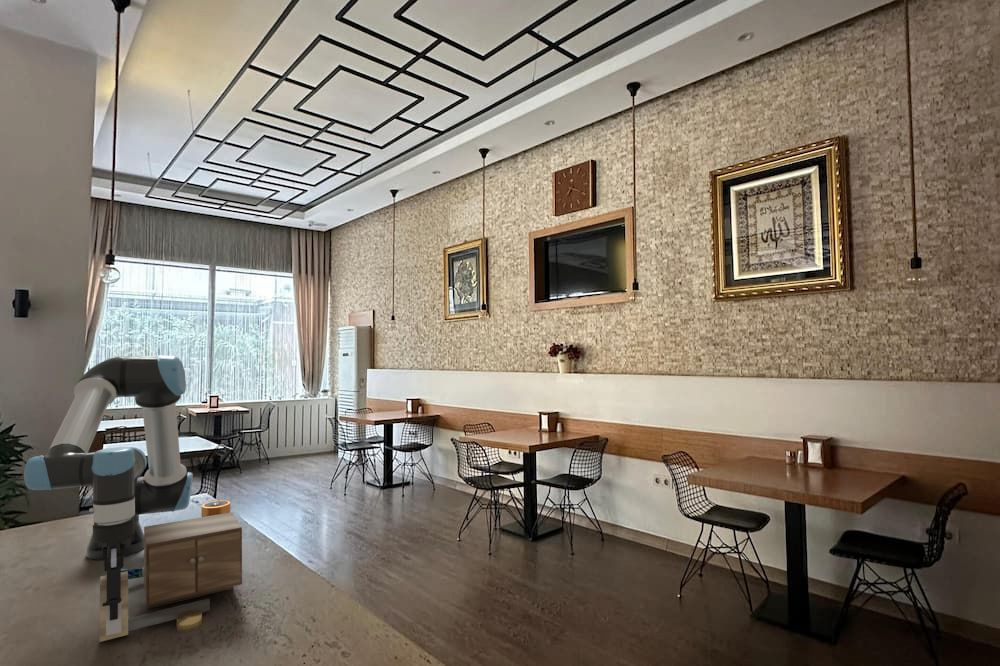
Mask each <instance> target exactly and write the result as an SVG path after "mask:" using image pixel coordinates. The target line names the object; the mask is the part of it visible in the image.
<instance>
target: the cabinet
mask: <svg viewBox="0 0 1000 666" xmlns="http://www.w3.org/2000/svg"><path fill="white" fill-rule="evenodd" d="M143 528H144V529H143V534H144V548H143V552H144V553H143V555H144V556H143V559H144V560H143V563H144V564H143V567H144V577H143V582H144V583H143V584H144V596H145V606H146V609H151V608H152V609H153V608H155V607H160V606H165V605H169V604H173V603H177V602H181V601H186V600H190V599H194V598H199V597H203V596H208V595H211V594H217V593H220V592H225V591H228V590H232V589H233V590H234V587H236V586H240V585H243V526H242V525H241V524H240V522H239V520H238V519H237V517H236V516H235V514H234V513H233V512H231V511H230V513H225V514H219V515H213V516H207V517H202V516H201V517H195V518H189V519H183V520H178V521H177V520H176V521H171V522H167V523H166V522H165V523H158V524H154V525H146V526H144V527H143Z"/></svg>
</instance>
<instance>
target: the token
mask: <svg viewBox="0 0 1000 666" xmlns="http://www.w3.org/2000/svg"><path fill="white" fill-rule="evenodd" d="M202 625H203V612H201V611H198V610H193V611H188V612H184V613H182V614H180V615H179V616H178V617H177V619H176V631H177V632H179V633H185V632H186V633H187V632H192V631H195V630H196V629H199V628H200V627H201V626H202Z"/></svg>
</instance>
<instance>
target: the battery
mask: <svg viewBox="0 0 1000 666" xmlns="http://www.w3.org/2000/svg"><path fill="white" fill-rule="evenodd" d="M225 513H231V501H229V500H214V501H209V502H206V503H203V504H202V505H201V517H207V516H213V515H219V514H225Z"/></svg>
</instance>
